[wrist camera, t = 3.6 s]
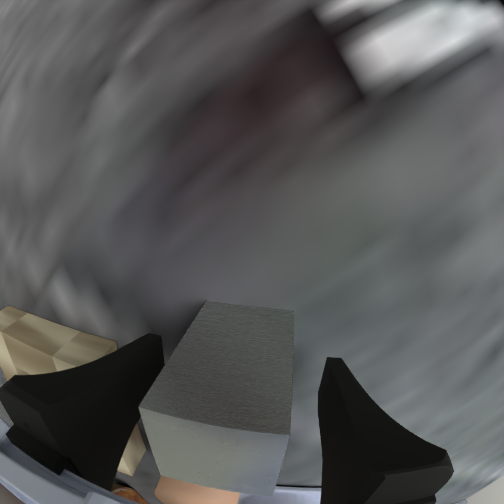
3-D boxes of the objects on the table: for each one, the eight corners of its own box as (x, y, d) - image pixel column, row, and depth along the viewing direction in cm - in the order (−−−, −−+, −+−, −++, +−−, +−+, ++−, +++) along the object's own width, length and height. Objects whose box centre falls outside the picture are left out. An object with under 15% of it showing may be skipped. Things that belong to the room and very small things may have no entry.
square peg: (283, 378, 14) (272, 496, 7) (207, 368, 14) (160, 475, 8) (294, 310, 13) (289, 435, 6) (206, 300, 13) (138, 406, 7)
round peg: (246, 471, 17) (234, 524, 12) (181, 459, 18) (162, 508, 13) (249, 436, 16) (235, 500, 11) (173, 421, 16) (146, 478, 11)
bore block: (146, 449, 18) (132, 476, 15) (47, 407, 19) (31, 425, 16) (115, 341, 15) (88, 370, 12) (9, 305, 16) (-17, 321, 13)
